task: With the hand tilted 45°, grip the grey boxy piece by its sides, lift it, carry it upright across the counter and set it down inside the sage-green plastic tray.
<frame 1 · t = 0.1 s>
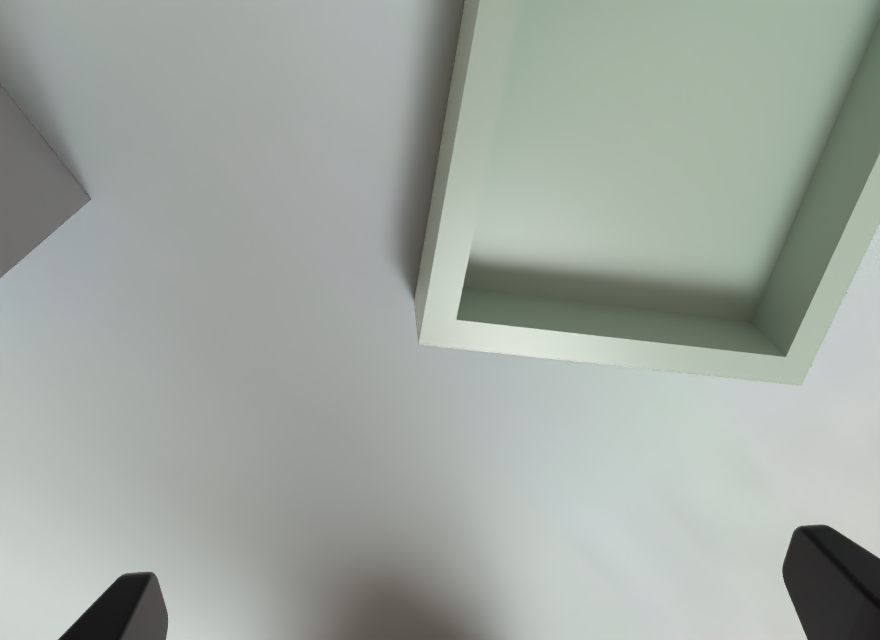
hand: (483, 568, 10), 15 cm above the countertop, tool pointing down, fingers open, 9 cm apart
tray: (647, 142, 22), on the countertop
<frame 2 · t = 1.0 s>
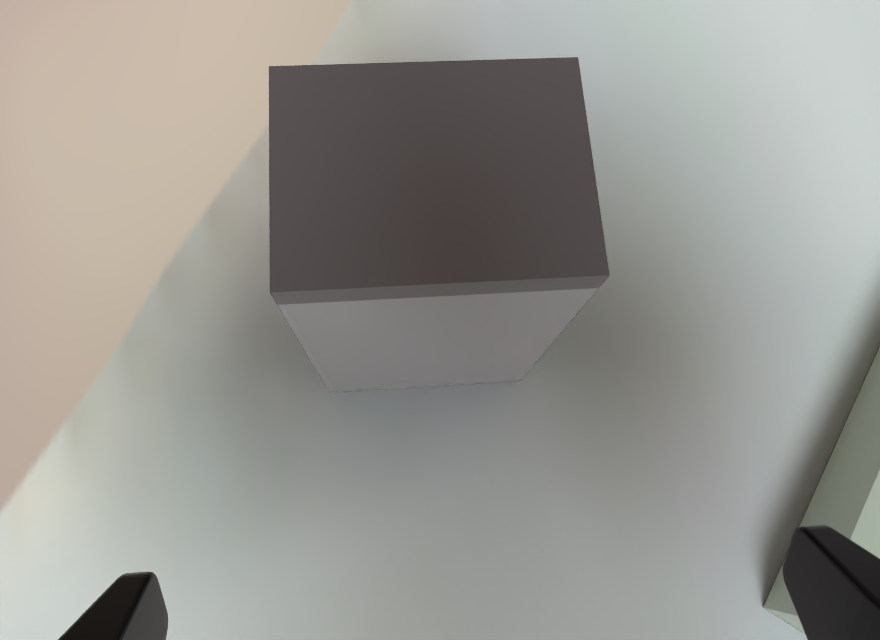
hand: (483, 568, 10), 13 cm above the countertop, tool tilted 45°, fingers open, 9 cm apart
grey boxy piece: (421, 317, 25), on the countertop
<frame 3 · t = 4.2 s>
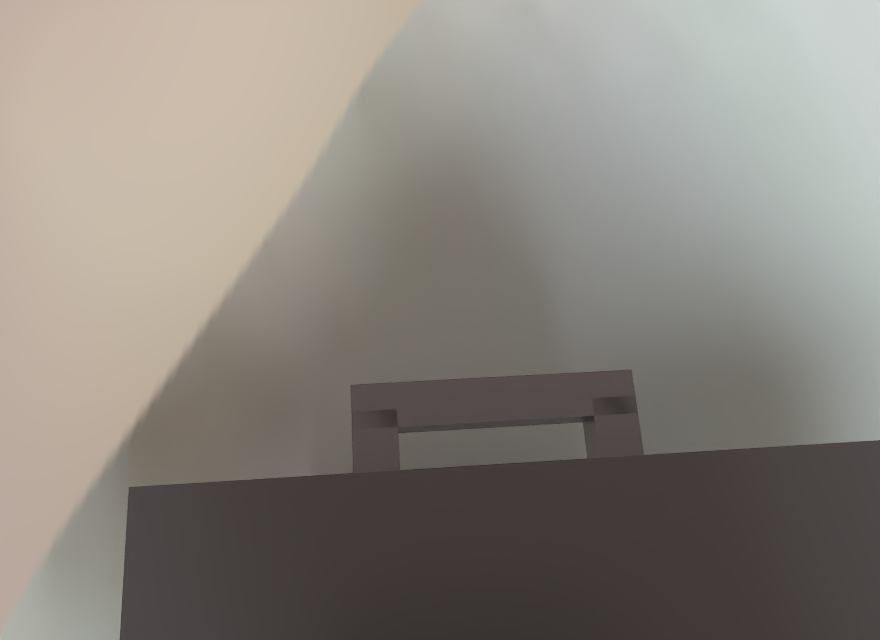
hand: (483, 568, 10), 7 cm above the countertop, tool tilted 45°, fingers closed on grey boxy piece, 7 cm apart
grey boxy piece: (457, 617, 16), on the countertop, touching gripper
when the fingers open (9 cm above the countertop, at t = 10.3 s): grey boxy piece drops 1 cm, resting on tray.
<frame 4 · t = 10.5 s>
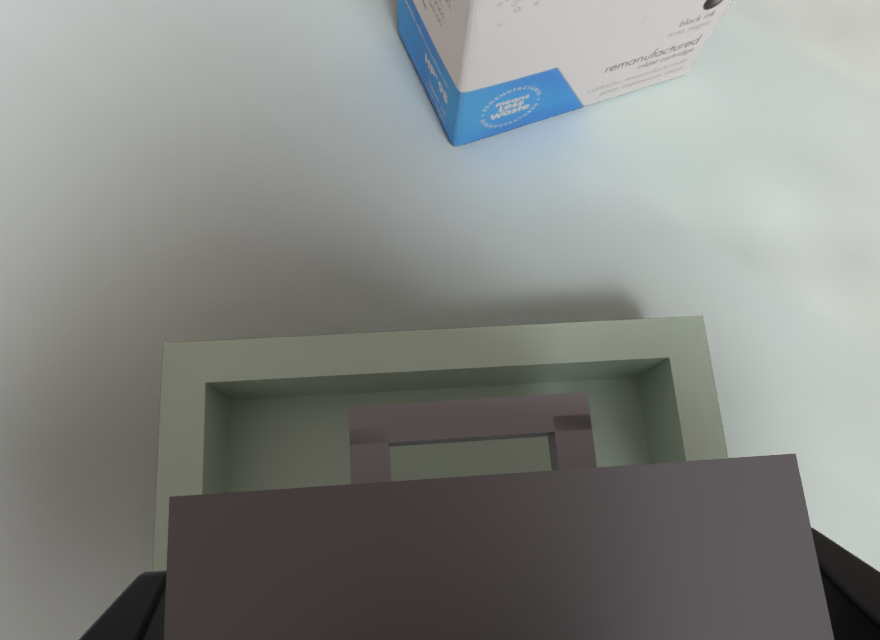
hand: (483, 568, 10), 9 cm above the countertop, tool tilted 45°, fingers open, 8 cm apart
ink box: (542, 57, 23), on the countertop
tray: (450, 605, 18), on the countertop
grey boxy piece: (452, 608, 17), point 1 cm above the countertop, touching tray
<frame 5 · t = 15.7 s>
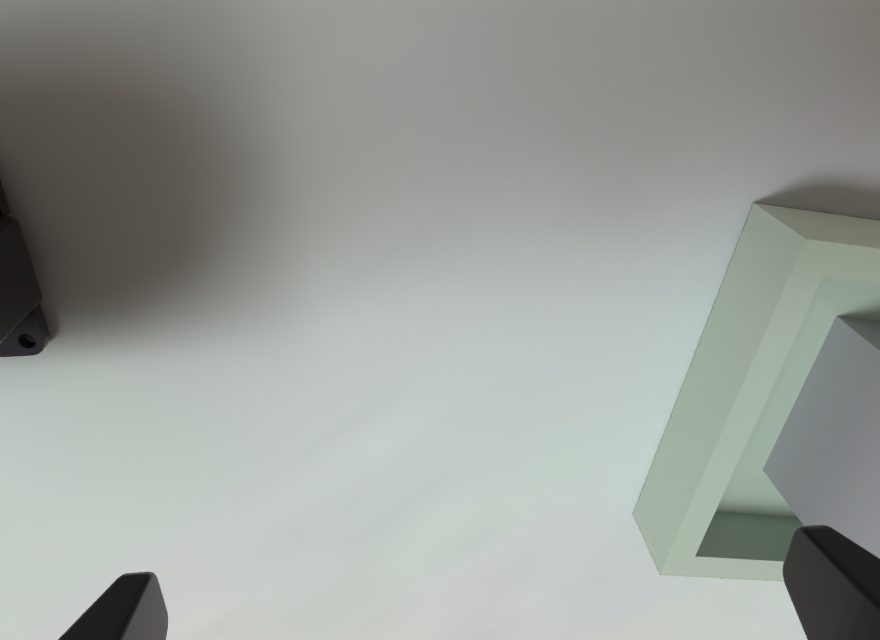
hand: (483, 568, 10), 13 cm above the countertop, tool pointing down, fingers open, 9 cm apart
tray: (850, 393, 25), on the countertop
grey boxy piece: (860, 403, 25), point 1 cm above the countertop, touching tray
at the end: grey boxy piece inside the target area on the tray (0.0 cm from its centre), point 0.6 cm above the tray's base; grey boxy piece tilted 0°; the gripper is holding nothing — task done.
